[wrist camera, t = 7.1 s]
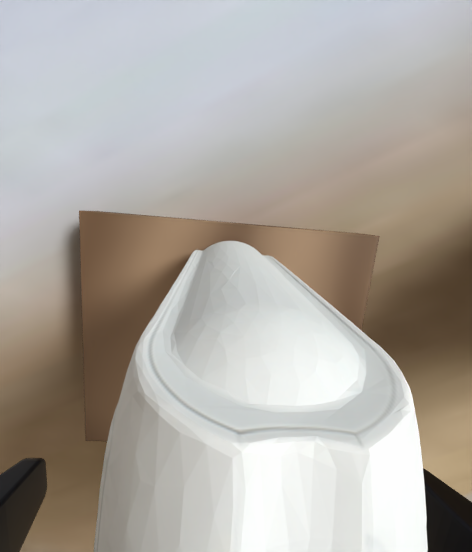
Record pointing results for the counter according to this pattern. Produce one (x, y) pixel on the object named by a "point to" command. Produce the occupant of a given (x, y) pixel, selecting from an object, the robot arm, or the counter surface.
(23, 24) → the counter surface
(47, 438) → the counter surface
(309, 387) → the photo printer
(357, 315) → the walnut stand
